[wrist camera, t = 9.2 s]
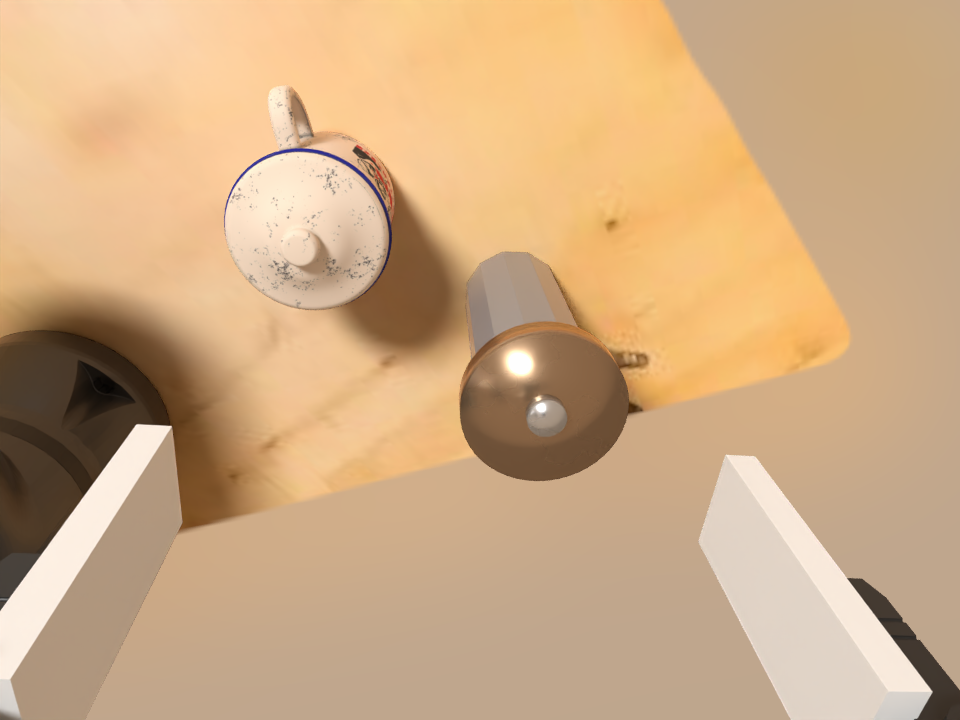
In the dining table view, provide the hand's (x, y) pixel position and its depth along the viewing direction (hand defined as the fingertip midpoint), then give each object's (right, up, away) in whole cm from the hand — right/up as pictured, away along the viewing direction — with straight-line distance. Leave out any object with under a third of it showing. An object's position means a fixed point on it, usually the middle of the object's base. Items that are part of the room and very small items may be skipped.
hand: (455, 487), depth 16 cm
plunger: (+3, +6, +30) cm, 31 cm away
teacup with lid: (-10, +15, +28) cm, 34 cm away
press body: (+3, +6, +33) cm, 34 cm away
